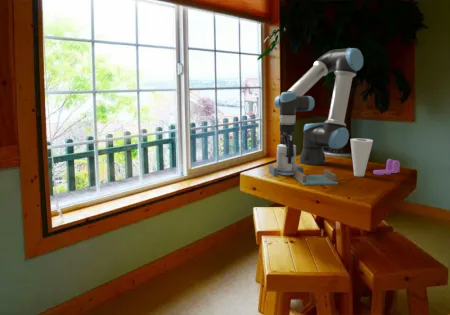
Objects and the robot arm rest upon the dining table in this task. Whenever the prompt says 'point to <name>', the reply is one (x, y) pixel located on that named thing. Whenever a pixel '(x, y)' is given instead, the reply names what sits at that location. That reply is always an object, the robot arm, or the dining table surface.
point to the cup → (360, 155)
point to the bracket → (389, 167)
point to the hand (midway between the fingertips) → (285, 167)
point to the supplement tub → (284, 160)
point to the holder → (274, 170)
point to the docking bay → (316, 178)
